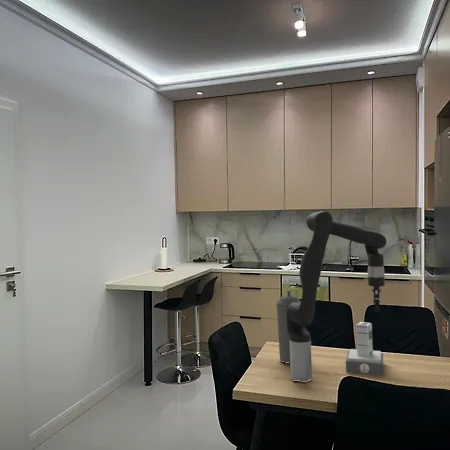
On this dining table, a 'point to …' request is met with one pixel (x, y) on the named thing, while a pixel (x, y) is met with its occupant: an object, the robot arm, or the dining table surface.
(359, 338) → the syrup box
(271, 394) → the dining table surface
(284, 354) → the canister
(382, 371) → the kitchen scale
